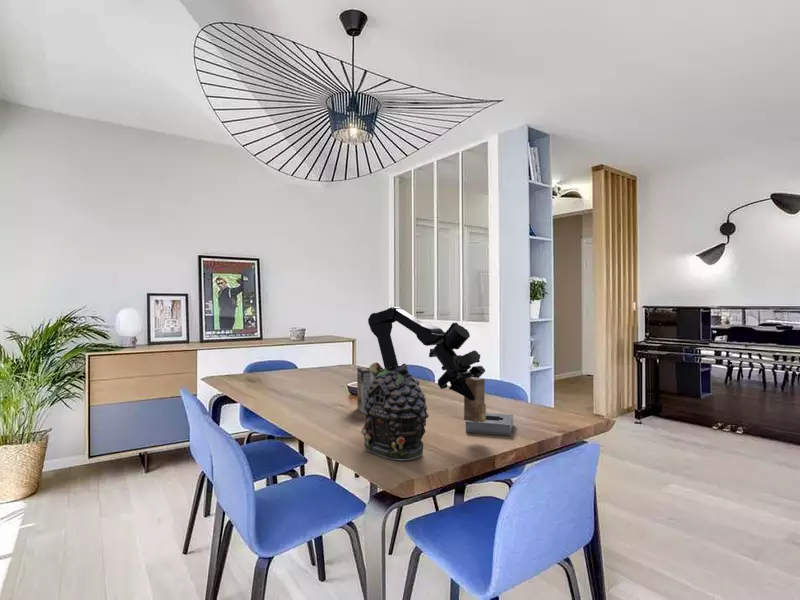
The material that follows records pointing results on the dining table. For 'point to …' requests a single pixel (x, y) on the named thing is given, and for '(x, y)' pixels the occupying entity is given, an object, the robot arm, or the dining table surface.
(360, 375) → the coffee box
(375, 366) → the decorative house
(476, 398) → the keyed plug
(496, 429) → the hub block
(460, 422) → the dining table surface
